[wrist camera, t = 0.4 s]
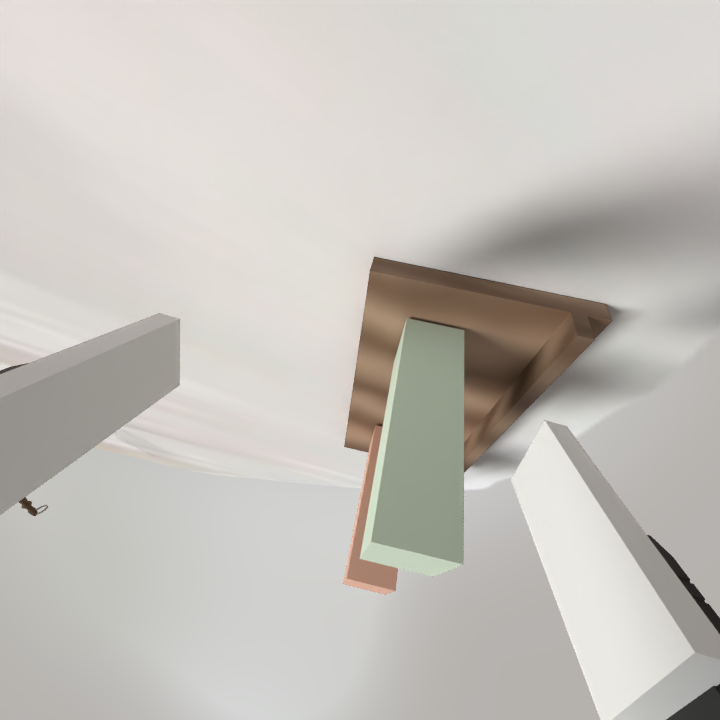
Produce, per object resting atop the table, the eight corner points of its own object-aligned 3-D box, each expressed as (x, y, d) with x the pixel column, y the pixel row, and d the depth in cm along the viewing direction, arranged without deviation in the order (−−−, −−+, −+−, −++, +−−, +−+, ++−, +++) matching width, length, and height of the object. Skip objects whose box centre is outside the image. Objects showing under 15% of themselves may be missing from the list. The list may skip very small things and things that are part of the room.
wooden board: (374, 257, 22) (364, 291, 20) (605, 304, 21) (621, 344, 19) (346, 436, 43) (340, 461, 41) (462, 462, 42) (461, 490, 40)
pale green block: (406, 318, 23) (370, 541, 14) (467, 331, 23) (469, 565, 14) (393, 362, 27) (359, 558, 18) (446, 373, 27) (436, 577, 18)
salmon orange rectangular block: (375, 425, 36) (346, 578, 27) (414, 433, 35) (398, 591, 27) (369, 444, 39) (343, 584, 31) (405, 452, 39) (388, 595, 31)
